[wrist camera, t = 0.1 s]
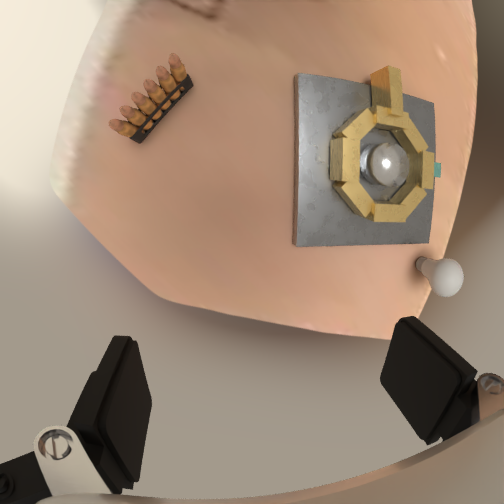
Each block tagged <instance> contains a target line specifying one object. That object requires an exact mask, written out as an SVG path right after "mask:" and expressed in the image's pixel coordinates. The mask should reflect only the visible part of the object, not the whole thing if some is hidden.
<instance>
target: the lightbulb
mask: <svg viewBox="0 0 504 504" xmlns="http://www.w3.org/2000/svg"><path fill="white" fill-rule="evenodd" d="M416 268H417V269H418V270H419V271H420V272H422V274H423V275H424V276H425V277H426V278H427V279H428V280H429V283H430V286H431V288H432V290H433V291H434V292H435V293H436V294H438V295H439V296H442V297H449V296H452V295H454V294H456V293H457V292H458V291H459V289H460V288H461V286H462V283H463V278H464V277H463V271H462V268H461V266H460V265H459V264H458V263H457V262H456V261H455V260H453V259H449V258H445V259H440V260H433V259H427V258H425V257H420V258H419V259H418V260H417V262H416Z"/></svg>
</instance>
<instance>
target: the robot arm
mask: <svg viewBox="0 0 504 504" xmlns="http://www.w3.org/2000/svg"><path fill="white" fill-rule="evenodd" d="M476 374H477V370H476V369H474V367H472V366H471V365H470V364H469V363H468V362H467V361H466V360H465V359H464V358H462V357H461V356H460V355H459V354H458V353H457V352H456V351H455V350H453V349H452V348H451V347H450V346H449V345H448V344H446V343H445V342H444V341H443V340H442V339H441V338H440V337H438V336H437V335H436V334H435V333H434V332H433V331H432V330H430V329H429V328H428V327H427V326H426V325H424V324H423V323H422V322H421V321H420V320H418V319H417V318H416V317H414V316H410V317H404V318H401V319H399V321H398V322H397V323H396V325H395V328H394V332H393V335H392V339H391V343H390V346H389V350H388V353H387V357H386V360H385V363H384V366H383V369H382V372H381V376H380V381H381V384H382V386H383V387H384V388H385V390H386V391H387V392H388V394H389V395H390V397H391V398H392V399H393V401H394V402H395V404H396V405H397V407H398V408H399V409H400V411H401V412H402V414H403V415H404V416H405V418H406V419H407V421H408V422H409V424H410V425H411V426H412V428H413V429H414V431H415V432H416V434H417V435H418V436H419V438H420V439H422V440H424V441H425V442H426V444H427V445H430V444H431V443H434V442H436V441H438V440H439V438H440V437H442V439H443V441H442V442H441V443H439V444H438V445H435V446H433V447H431V448H429V449H427V450H425V451H423V452H421V453H418V454H416V455H414V456H411V457H409V458H407V459H404V460H402V461H399V462H397V463H394V464H392V465H389V466H386V467H383V468H381V469H378V470H375V471H372V472H369V473H366V474H363V475H360V476H356V477H353V478H350V479H346V480H343V481H339V482H335V483H331V484H327V485H322V486H319V487H314V488H309V489H304V490H298V491H293V492H287V493H281V494H273V495H266V496H256V497H246V498H231V499H169V498H168V499H167V498H155V497H141V496H130V495H120V494H121V493H122V488H125V489H133V484H134V482H138V481H139V478H140V471H141V465H142V458H143V452H144V446H145V440H146V434H147V429H148V423H149V417H150V412H151V407H152V399H151V395H150V391H149V388H148V384H147V380H146V376H145V373H144V368H143V364H142V360H141V356H140V352H139V347H138V343H137V341H133V340H132V338H131V337H130V336H114V337H113V338H112V340H111V342H110V344H109V346H108V348H107V350H106V352H105V354H104V356H103V358H102V360H101V362H100V364H99V366H98V368H97V370H96V371H94V372H92V373H91V375H90V377H89V379H88V381H87V383H86V385H85V387H84V389H83V391H82V393H81V395H80V398H79V400H78V402H77V404H76V406H75V408H74V411H73V413H72V415H71V417H70V420H69V422H68V425H67V427H65V426H60V425H54V426H49V427H47V428H45V429H43V430H41V431H40V432H39V433H38V434H37V436H36V438H35V440H34V444H33V446H34V451H33V452H30V453H28V454H25V455H23V456H20V457H18V458H15V459H12V460H10V461H7V462H5V463H2V464H0V504H504V379H503V378H501V377H500V376H498V375H496V374H493V373H484V374H482V375H480V376H479V378H478V379H477V381H475V380H474V378H475V376H476Z"/></svg>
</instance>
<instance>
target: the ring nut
mask: <svg viewBox="0 0 504 504" xmlns="http://www.w3.org/2000/svg"><path fill="white" fill-rule="evenodd" d="M370 76H371V90H372V107H370V108H365V109H362V110H359V111H357V112H356V113H355V114H354V115H353V116H352V117H350V118H349V119H348V120H347V121H346V122H345V123H344V124H343V125H342V126H341V127H340V128H339V129H338V130H337V131H336V132H335V133H333V135H334V136H335V137H336V138H337V139H333V140H330V180H337V181H336V182H335V183H334V184H333V185H332V186H333V188H334V189H335V190H336V191H337V192H338V193H339V195H340V196H341V197H342V198H343V200H344V201H345V202H346V203H347V204H348V206H349V207H350V208H351V209H352V211H353V212H354V213H355V214H357V215H359V216H360V217H363V218H365V219H368V220H371V221H373V222H406V218H407V217H408V216H409V215H410V214H411V213H412V211H413V210H414V209H415V208H416V207H417V205H418V204H419V203H420V202H421V201H422V200H423V198H424V197H425V196H426V195H427V193H426V192H425V190H424V188H426V189H433V183H434V153H433V152H428V151H426V149H427V148H428V145H427V144H426V142H425V140H424V139H423V137H422V136H421V134H420V133H419V131H418V129H417V128H416V126H415V125H414V123H413V122H412V121H411V119H410V118H409V113H407V112H403V96H402V83H401V73H400V69H398V68H394V67H391V66H386V67H384V68H382V69H380V70H378V71H376V72H374V73H372V74H370ZM372 128H379V129H384V130H389V131H391V132H392V133H393V134H394V136H395V137H396V139H397V140H398V142H399V143H400V144H401V146H402V147H403V149H404V150H405V152H406V153H407V156H408V159H409V173H408V176H407V178H406V183H405V184H404V185H403V186H402V187H401V188H400V189H399V191H398V192H397V193H396V194H395V195H394V196H393V197H392V198H391V199H390V201H377V200H372V198H371V197H370V196H369V194H368V193H367V192H366V190H365V189H364V188H363V186H362V185H361V184H360V183H359V175H360V140H361V139H362V138H363V137H364V136H365V135H366V134H367V133H368V132H369V131H370V130H371V129H372Z"/></svg>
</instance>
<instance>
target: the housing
mask: <svg viewBox="0 0 504 504" xmlns="http://www.w3.org/2000/svg"><path fill="white" fill-rule="evenodd" d="M294 87H295V183H294V222H293V244H294V245H295V246H296V247H309V246H345V245H381V244H420V243H429V237H430V229H431V221H432V211H433V200H434V185H435V177H440V175H441V163H436V162H435V153H436V145H435V113H434V103H432V102H429V101H426V100H423V99H420V98H416V97H413V96H410V95H406V94H403V93H402V96H403V112H407V113H409V118H410V119H411V121H412V122H413V123H414V125H415V126H416V128H417V129H418V131H419V133H420V134H421V136H422V137H423V139H424V140H425V142H426V144H427V145H428V148H427V149H426V151H428V152H433V153H434V183H433V189H426V188H424V190H425V192H426V193H427V195H426V196H425V197H424V198H423V200H422V201H421V202H420V203H419V204H418V205H417V207H416V208H415V209H414V210H413V211H412V213H411V214H410V215H409V216H408V217H407V218H406V222H373V221H371V220H368V219H365V218H363V217H360V216H359V215H357V214H355V213H354V212H353V211H352V209H351V208H350V207H349V206H348V204H347V203H346V202H345V201H344V200H343V198H342V197H341V196H340V195H339V193H338V192H337V191H336V190H335V189H334V188H333V186H332V185H333V184H334V183H335V182H336V181H337V180H330V140H333V139H337V138H336V137H335V136H334V135H333V133H335V132H336V131H337V130H338V129H339V128H340V127H341V126H342V125H343V124H344V123H345V122H346V121H347V120H348V119H349V118H350V117H352V116H353V115H354V114H355V113H356V112H357V111H359V110H362V109H365V108H370V107H372V90H371V85H368V84H363V83H358V82H354V81H348V80H343V79H337V78H332V77H325V76H319V75H311V74H303V73H298V74H297V75H296V76H295V77H294ZM408 173H409V159H408V156H407V153H406V152H405V150H404V149H403V147H402V146H401V144H400V143H399V142H398V140H397V139H396V137H395V136H394V134H393V133H392V132H391V131H389V130H384V129H379V128H372V129H371V130H370V131H369V132H368V133H367V134H366V135H365V136H364V137H363V138H362V139H361V140H360V175H359V183H360V184H361V185H362V186H363V188H364V189H365V190H366V192H367V193H368V194H369V196H370V197H371V198H372V200H377V201H390V199H391V198H392V197H393V196H394V195H395V194H396V193H397V192H398V191H399V189H400V188H401V187H402V186H403V185H404V184H405V183H406V178H407V176H408Z"/></svg>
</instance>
